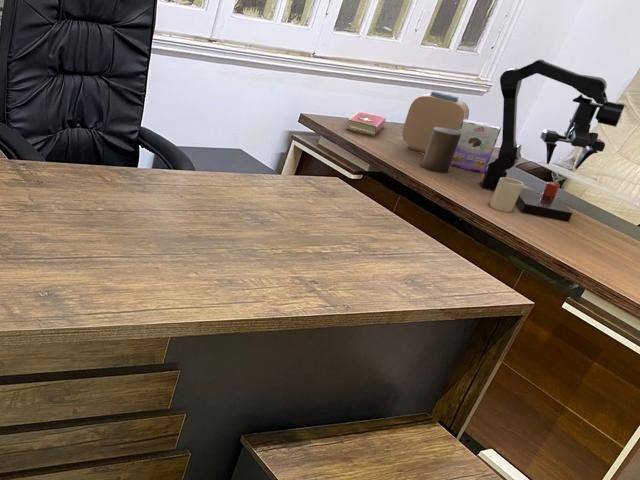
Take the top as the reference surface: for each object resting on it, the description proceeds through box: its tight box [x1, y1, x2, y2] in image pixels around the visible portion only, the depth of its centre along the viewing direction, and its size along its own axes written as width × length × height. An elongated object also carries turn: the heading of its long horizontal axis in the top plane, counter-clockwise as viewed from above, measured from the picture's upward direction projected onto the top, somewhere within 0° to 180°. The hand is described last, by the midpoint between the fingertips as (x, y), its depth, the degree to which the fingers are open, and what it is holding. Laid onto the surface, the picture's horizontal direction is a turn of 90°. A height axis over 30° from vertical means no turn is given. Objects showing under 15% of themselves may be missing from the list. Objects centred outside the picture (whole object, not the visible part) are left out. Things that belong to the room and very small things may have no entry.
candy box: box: [450, 118, 502, 174], centre depth 292 cm, size 14×6×16 cm, turn 65°
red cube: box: [542, 181, 561, 197], centre depth 267 cm, size 4×4×4 cm
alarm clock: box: [401, 90, 470, 154], centre depth 305 cm, size 21×10×22 cm, turn 58°
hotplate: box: [515, 187, 573, 223], centre depth 264 cm, size 16×21×3 cm
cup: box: [489, 176, 524, 213], centre depth 256 cm, size 7×7×9 cm
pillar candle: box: [421, 127, 461, 173], centre depth 285 cm, size 10×10×15 cm
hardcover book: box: [346, 110, 386, 137], centre depth 327 cm, size 12×21×4 cm, turn 155°
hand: (561, 166), depth 263 cm, fingers open, 9 cm apart
